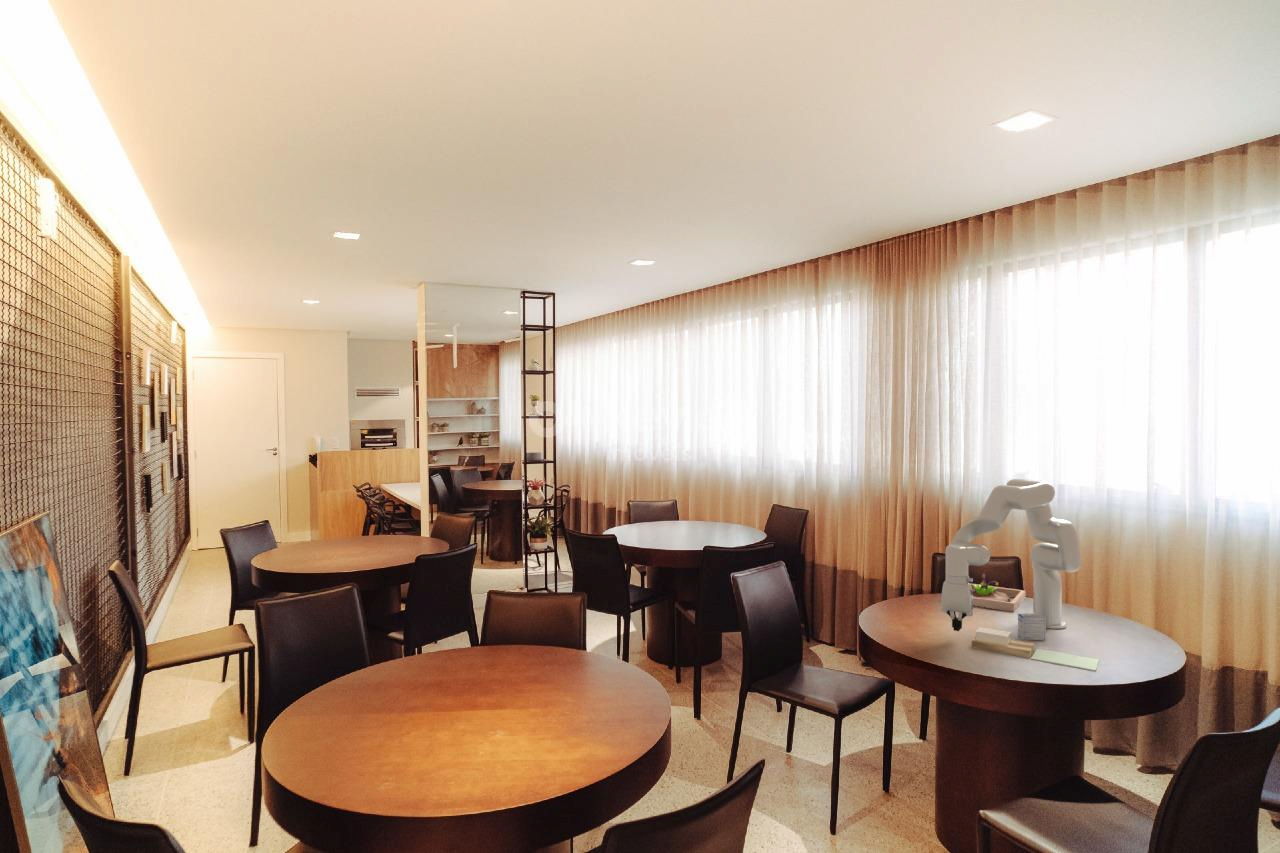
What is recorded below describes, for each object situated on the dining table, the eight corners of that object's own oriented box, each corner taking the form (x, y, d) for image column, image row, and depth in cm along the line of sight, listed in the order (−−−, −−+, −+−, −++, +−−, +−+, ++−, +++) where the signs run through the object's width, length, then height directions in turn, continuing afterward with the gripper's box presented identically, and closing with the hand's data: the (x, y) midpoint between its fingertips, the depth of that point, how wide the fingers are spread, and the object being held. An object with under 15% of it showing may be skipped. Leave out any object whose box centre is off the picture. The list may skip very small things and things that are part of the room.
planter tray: (960, 589, 323) (960, 582, 323) (1025, 598, 306) (1025, 590, 306) (945, 601, 302) (945, 593, 302) (1014, 612, 285) (1014, 603, 285)
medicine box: (1040, 636, 253) (1040, 613, 252) (1046, 640, 248) (1046, 616, 248) (1017, 636, 253) (1017, 613, 253) (1023, 640, 249) (1023, 616, 249)
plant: (1007, 596, 311) (1007, 572, 311) (1012, 607, 293) (1012, 581, 293) (959, 592, 319) (959, 568, 319) (960, 603, 301) (960, 577, 301)
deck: (978, 640, 249) (978, 633, 249) (1034, 650, 238) (1034, 643, 238) (971, 647, 241) (971, 640, 241) (1029, 658, 230) (1029, 651, 230)
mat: (1036, 649, 238) (1036, 648, 238) (1099, 660, 227) (1099, 659, 227) (1031, 659, 229) (1031, 658, 229) (1095, 671, 218) (1095, 670, 218)
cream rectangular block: (979, 635, 247) (979, 627, 247) (1011, 640, 241) (1011, 632, 241) (976, 639, 242) (976, 631, 242) (1007, 645, 236) (1007, 636, 236)
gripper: (981, 580, 247) (981, 631, 247) (938, 574, 256) (938, 623, 256) (977, 584, 241) (977, 636, 241) (932, 578, 250) (932, 628, 250)
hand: (956, 629), depth 249 cm, fingers closed
